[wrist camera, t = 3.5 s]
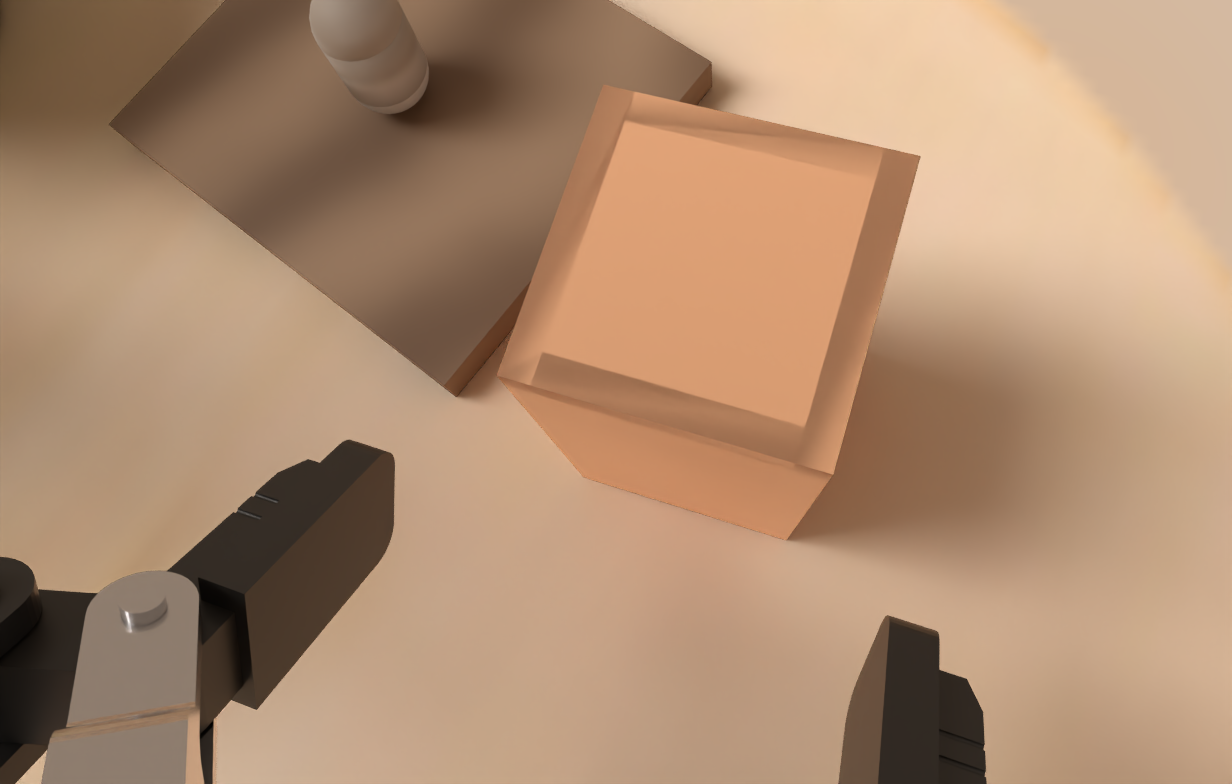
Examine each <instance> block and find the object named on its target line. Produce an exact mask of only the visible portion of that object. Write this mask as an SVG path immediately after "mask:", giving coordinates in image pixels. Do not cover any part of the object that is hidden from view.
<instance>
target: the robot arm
mask: <svg viewBox="0 0 1232 784" xmlns="http://www.w3.org/2000/svg"><path fill="white" fill-rule="evenodd" d="M394 480H395V461H394V457H393V455H392V454H391V453H389V452H386V451H383V450H380V449H377V448H374V447H371V446H368V445H365V444H362V443H359V442H355V441H352V440H346V441H344V442H342V443H341V444H340V445H339V446H337V447H336V448H335V449H334V450H333V451H332V452H331V453H330V454H329V455H328V456H327V457H326V458H325V459H324V460H322V461H321V462H320V463H318V462H315V461H312V460H309V459H308V460H305V461H303V462H301V463H299V464H296V465H294V466H292V467H290V468H287V469H285V470H283V471H281V472H278V473H277V474H276V475H275V476H274V477H272V478H271V479H270V480H269V481H268V482H267V483H266V484H265V485H263V486H262V487H261V488H260V489H259V490H258V491H257V492H256V494H255V496H254V497H252V496H251V497H250V498H249V499H248V500H247V501H245V502H244V503H243V504H242V505H241V506H240V507H239V508H238V511H237V512H236V513H234V512H233V513H232V514H231V515H230V516H229V517H227V518H226V519H225V520H224V521H223V522H222V523H221V524H220V525H218V526H217V527H216V528H215V529H214V530H213V531H212V532H211V533H209V534H208V535H207V536H206V537H205V538H204V539H203V540H202V541H200V542H199V543H198V544H197V545H196V546H195V547H194V548H193V549H191V550H190V551H189V552H188V553H187V554H186V555H185V556H184V557H182V558H181V559H180V560H179V561H178V562H177V563H176V564H175V565H173V566H172V567H171V568H170V569H169V570H168V571H146V572H140V573H136V574H132V575H129V576H126V577H123V578H121V579H119V580H117V581H115V582H113V583H111V584H109V585H108V586H107V587H105V588H104V589H102V590H101V591H100V592H99V593H80V592H66V591H52V590H38V588H37V585H36V581H35V577H34V574H33V572H32V570H31V569H30V568H29V567H28V566H27V565H26V564H24V563H23V562H20V561H18V560H16V559H11V558H6V557H0V784H15V783H16V782H17V781H18V780H19V779H20V778H21V777H22V776H23V775H24V774H25V773H26V772H27V771H28V769H29V768H30V767H31V766H32V765H33V764H34V763H35V762H36V761H37V760H38V759H39V758H40V757H41V756H42V755H43V754H44V752H45V751H46V750H47V749H48V750H47V755H46V760H45V766H44V771H43V777H42V782H41V784H216V766H217V722H216V716H217V715H218V714H219V713H220V712H221V711H222V709H223V708H224V707H225V706H226V705H227V704H228V703H229V701H230V700H233V701H236V702H238V703H241V704H243V705H246V706H248V707H251V708H253V709H256V710H257V709H258V707H259V706H260V705H261V704H262V703H263V701H264V700H265V699H266V698H267V697H268V695H269V694H270V693H271V692H272V691H273V689H274V688H275V687H276V686H277V685H278V683H279V682H280V681H281V680H282V679H283V677H284V676H285V675H286V674H287V673H288V671H289V670H290V669H291V668H292V666H293V665H294V664H295V663H296V662H297V660H298V659H299V658H300V657H301V656H302V654H303V653H304V652H305V651H306V650H307V648H308V647H309V646H310V645H311V644H312V642H313V641H314V640H315V639H316V638H317V636H318V635H319V634H320V633H321V631H322V630H323V629H324V628H325V627H326V625H327V624H328V623H329V622H330V621H331V619H332V618H333V617H334V616H335V615H336V613H337V612H338V611H339V610H340V609H341V607H342V606H343V605H344V604H345V603H346V601H347V600H348V599H349V598H350V596H351V595H352V594H353V593H354V592H355V590H356V589H357V588H358V587H359V586H360V584H361V583H362V582H363V581H364V580H365V578H366V577H367V576H368V575H369V574H370V572H371V571H372V570H373V569H374V568H375V566H376V565H377V564H378V563H379V561H380V560H381V559H382V557H383V555H384V554H385V552H386V550H387V547H388V545H389V542H390V540H391V536H392V532H393V526H394ZM984 745H985V743H984V722H983V711H982V709H981V707H980V705H979V703H978V701H977V699H976V697H975V695H974V693H973V691H972V689H971V687H970V685H969V683H968V681H967V679H965V678H962V677H959V676H956V675H953V674H950V673H947V672H944V671H941V670H939V634H938V632H937V631H935V630H932V629H929V628H925V627H922V626H919V625H916V624H913V623H910V622H907V621H904V620H901V619H898V618H895V617H891V616H888V615H887V616H886V617H885V618H884V620H883V622H882V624H881V626H880V628H879V631H878V633H877V635H876V638H875V640H874V642H873V645H872V647H871V650H870V652H869V654H868V657H867V659H866V661H865V664H864V666H863V668H862V671H861V673H860V675H859V678H858V680H857V683H856V685H855V688H854V691H853V694H852V697H851V701H850V705H849V709H848V713H847V718H846V724H845V732H844V740H843V749H842V758H841V766H840V775H839V783H838V784H986V777H985V772H986V764H985V751H984V750H983V748H984Z"/></svg>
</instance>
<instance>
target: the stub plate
mask: <svg viewBox="0 0 1232 784" xmlns="http://www.w3.org/2000/svg"><path fill="white" fill-rule="evenodd" d="M603 85H608V86H612V87H617V88H621V89H625V90H630V91H634V92H639V93H643V94H648V95H652V96H656V97H661V98H665V99H670V100H674V101H678V102H683V103H687V104H692V105H697V104H698V103H699V101H700V100H701V99H702V98H703V97H704V95H705V94H706V93H707V92H708V90H709V89H710V88H711V87H712V65H711V62H710V61H709V60H707V59H705V58H704V57H702V56H700V55H699V54H697V53H695V52H694V51H692V50H691V49H689V48H687V47H686V46H684V45H682V44H681V43H679V42H677V41H676V40H674V39H672V38H671V37H669V36H667V35H666V34H664V33H662V32H661V31H659V30H657V29H656V28H654V27H652V26H651V25H649V24H647V23H646V22H644V21H642V20H641V19H639V18H637V17H636V16H634V15H632V14H631V13H629V12H627V11H626V10H624V9H622V8H621V7H619V6H617V5H616V4H614V3H612V2H611V1H609V0H225V1H224V3H223V4H222V5H221V6H220V7H219V8H218V9H217V10H216V11H215V12H214V13H213V14H212V15H211V16H210V17H209V18H208V19H207V21H206V22H205V23H204V24H203V25H202V26H201V27H200V28H199V29H198V30H197V31H196V32H195V33H194V34H193V35H192V36H191V38H190V39H189V40H188V41H187V42H186V43H185V44H184V45H183V46H182V47H181V48H180V49H179V50H178V51H177V52H176V53H175V55H174V56H173V57H172V58H171V59H170V60H169V61H168V62H167V63H166V64H165V65H164V66H163V67H162V68H161V69H160V70H159V71H158V73H157V74H156V75H155V76H154V77H153V78H152V79H151V80H150V81H149V82H148V83H147V84H146V85H145V86H144V87H143V88H142V90H141V91H140V92H139V93H138V94H137V95H136V96H135V97H134V98H133V99H132V100H131V101H130V102H129V103H128V104H127V105H126V106H125V108H124V109H123V110H122V111H121V112H120V113H119V114H118V115H117V116H116V117H115V118H114V119H113V120H112V121H111V122H110V123H109V125H110V126H111V127H113V128H114V129H115V130H116V131H117V132H119V133H120V134H121V135H122V136H123V137H124V138H126V139H127V140H128V141H129V142H130V143H132V144H133V145H134V146H135V147H137V148H138V149H139V150H141V151H142V152H143V153H144V154H146V155H147V156H148V157H149V158H151V159H152V160H153V161H155V162H156V163H157V164H158V165H160V166H161V167H162V168H164V169H165V170H166V171H167V172H169V173H170V174H171V175H173V176H174V177H175V178H176V179H178V180H179V181H180V182H182V183H183V184H184V185H185V186H187V187H188V188H189V189H190V190H192V191H193V192H194V193H196V194H197V195H198V196H199V197H201V198H202V199H203V200H205V201H206V202H207V203H208V204H210V205H211V206H212V207H214V208H215V209H216V210H217V211H219V212H220V213H221V214H222V215H224V216H225V217H226V218H228V219H229V220H230V221H231V222H233V223H234V224H235V225H237V226H238V227H239V228H240V229H242V230H243V231H244V232H246V233H247V234H248V235H249V236H251V237H252V238H253V239H254V240H256V241H257V242H258V243H260V244H261V245H262V246H263V247H265V248H266V249H267V250H269V251H270V252H271V253H272V254H274V255H275V256H276V257H278V258H279V259H280V260H281V261H283V262H284V263H285V264H287V265H288V266H289V267H290V268H292V269H293V270H294V271H295V272H297V273H298V274H299V275H301V276H302V277H303V278H304V279H306V280H307V281H308V282H310V283H311V284H312V285H313V286H315V287H316V288H317V289H319V290H320V291H321V292H322V293H324V294H325V295H326V296H327V297H329V298H330V299H331V300H333V301H334V302H335V303H336V304H338V305H339V306H340V307H342V308H343V309H344V310H345V311H347V312H348V313H349V314H351V315H352V316H353V317H354V318H356V319H357V320H358V321H360V322H361V323H362V324H363V325H365V326H366V327H367V328H368V329H370V330H371V331H372V332H374V333H375V334H376V335H377V336H379V337H380V338H381V339H383V340H384V341H385V342H386V343H388V344H389V345H390V346H392V347H393V348H394V349H395V350H397V351H398V352H399V353H400V354H402V355H403V356H404V357H406V358H407V359H408V360H409V361H411V362H412V363H413V364H415V365H416V366H417V367H418V368H420V369H421V370H422V371H424V372H425V373H426V374H427V375H429V376H430V377H431V378H432V379H434V380H435V381H436V382H438V383H439V384H440V385H441V386H443V387H444V388H445V389H447V390H448V391H449V392H450V393H452V394H453V395H454V396H456V397H457V396H458V394H459V393H460V392H461V391H462V389H463V388H464V387H465V386H466V385H467V383H468V382H469V381H470V380H471V379H472V377H473V376H474V375H475V374H476V372H477V371H478V370H479V369H480V368H481V366H482V365H483V364H484V363H485V362H486V360H487V359H488V358H489V357H490V355H491V354H492V353H493V352H494V351H495V349H496V348H497V347H498V346H499V345H500V343H501V342H502V341H503V340H504V338H505V337H506V336H507V335H508V334H509V332H510V331H511V330H512V329H513V327H514V326H515V324H516V321H517V318H518V316H519V313H520V310H521V307H522V305H523V302H524V299H525V296H526V294H527V291H528V288H529V286H530V283H531V280H532V277H533V275H534V272H535V269H536V267H537V264H538V261H539V258H540V256H541V253H542V250H543V247H544V245H545V242H546V239H547V237H548V234H549V231H550V228H551V226H552V223H553V220H554V218H555V215H556V212H557V209H558V207H559V204H560V201H561V199H562V196H563V193H564V190H565V188H566V185H567V182H568V179H569V177H570V174H571V171H572V169H573V166H574V163H575V160H576V158H577V155H578V152H579V150H580V147H581V144H582V141H583V139H584V136H585V133H586V130H587V128H588V125H589V122H590V120H591V117H592V114H593V111H594V109H595V106H596V103H597V101H598V98H599V95H600V92H601V90H602V87H603Z"/></svg>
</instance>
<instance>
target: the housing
mask: <svg viewBox="0 0 1232 784" xmlns="http://www.w3.org/2000/svg"><path fill="white" fill-rule="evenodd" d="M919 160H920V156H918V155H913V154H909V153H904V152H900V151H895V150H891V149H887V148H882V147H878V146H873V145H869V144H864V143H860V142H856V141H851V140H847V139H842V138H838V137H833V136H829V135H825V134H820V133H816V132H811V131H807V130H802V129H798V128H794V127H789V126H785V125H780V124H776V123H771V122H767V121H763V120H758V119H754V118H749V117H745V116H740V115H736V114H732V113H727V112H723V111H718V110H714V109H709V108H705V107H701V106H696V105H692V104H687V103H683V102H678V101H674V100H670V99H665V98H661V97H656V96H652V95H648V94H643V93H639V92H634V91H630V90H625V89H621V88H617V87H612V86H608V85H603V87H602V90H601V92H600V95H599V98H598V101H597V103H596V106H595V109H594V111H593V114H592V117H591V120H590V122H589V125H588V128H587V130H586V133H585V136H584V139H583V141H582V144H581V147H580V150H579V152H578V155H577V158H576V160H575V163H574V166H573V169H572V171H571V174H570V177H569V179H568V182H567V185H566V188H565V190H564V193H563V196H562V199H561V201H560V204H559V207H558V209H557V212H556V215H555V218H554V220H553V223H552V226H551V228H550V231H549V234H548V237H547V239H546V242H545V245H544V247H543V250H542V253H541V256H540V258H539V261H538V264H537V267H536V269H535V272H534V275H533V277H532V280H531V283H530V286H529V288H528V291H527V294H526V296H525V299H524V302H523V305H522V307H521V310H520V313H519V316H518V318H517V321H516V324H515V326H514V329H513V332H512V335H511V337H510V340H509V343H508V345H507V348H506V351H505V354H504V356H503V359H502V362H501V365H500V367H499V370H498V373H497V377H498V378H499V379H500V380H501V381H502V382H503V384H504V385H505V386H506V387H507V388H508V389H509V391H510V392H511V393H512V394H513V395H514V396H515V398H516V399H517V400H518V401H519V402H520V403H521V405H522V406H523V407H524V408H525V409H526V410H527V412H528V413H529V414H530V415H531V416H532V417H533V419H534V420H535V421H536V422H537V423H538V424H539V426H540V427H541V428H542V429H543V430H544V431H545V433H546V434H547V435H548V436H549V437H550V438H551V440H552V441H553V442H554V443H555V444H556V445H557V447H558V448H559V449H560V450H561V451H562V452H563V454H564V455H565V456H566V457H567V458H568V459H569V461H570V462H571V463H572V464H573V465H574V466H575V468H576V469H577V470H578V471H579V472H580V473H581V475H582V476H583V477H584V478H588V479H591V480H594V481H597V482H600V483H604V484H607V485H610V486H613V487H616V488H620V489H623V490H626V491H629V492H633V493H636V494H639V495H642V496H645V497H649V498H652V499H655V500H658V501H661V502H665V503H668V504H671V505H674V506H678V507H681V508H684V509H687V510H690V511H694V512H697V513H700V514H703V515H706V516H710V517H713V518H716V519H719V520H723V521H726V522H729V523H732V524H735V525H739V526H742V527H745V528H748V529H751V530H755V531H758V532H761V533H764V534H768V535H771V536H774V537H777V538H780V539H784V540H787V539H788V537H789V536H790V535H791V533H792V532H793V530H794V529H795V528H796V526H797V525H798V523H799V522H800V521H801V519H802V518H803V516H804V515H805V514H806V512H807V511H808V509H809V508H810V507H811V505H812V504H813V502H814V501H815V500H816V498H817V497H818V495H819V494H820V493H821V491H822V490H823V488H824V487H825V486H826V484H827V483H828V482H829V480H830V479H831V477H832V476H833V474H834V471H835V467H836V463H837V460H838V456H839V452H840V449H841V445H842V441H843V438H844V434H845V430H846V427H847V423H848V419H849V416H850V412H851V408H852V405H853V401H854V397H855V394H856V390H857V387H858V383H859V379H860V376H861V372H862V368H863V365H864V361H865V357H866V354H867V350H868V346H869V343H870V339H871V335H872V332H873V328H874V324H875V321H876V317H877V313H878V310H879V306H880V303H881V299H882V295H883V292H884V288H885V284H886V281H887V277H888V273H889V270H890V266H891V262H892V259H893V255H894V251H895V248H896V244H897V240H898V237H899V233H900V229H901V226H902V222H903V218H904V215H905V211H906V208H907V204H908V200H909V197H910V193H911V189H912V186H913V182H914V178H915V175H916V171H917V167H918V164H919Z"/></svg>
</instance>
